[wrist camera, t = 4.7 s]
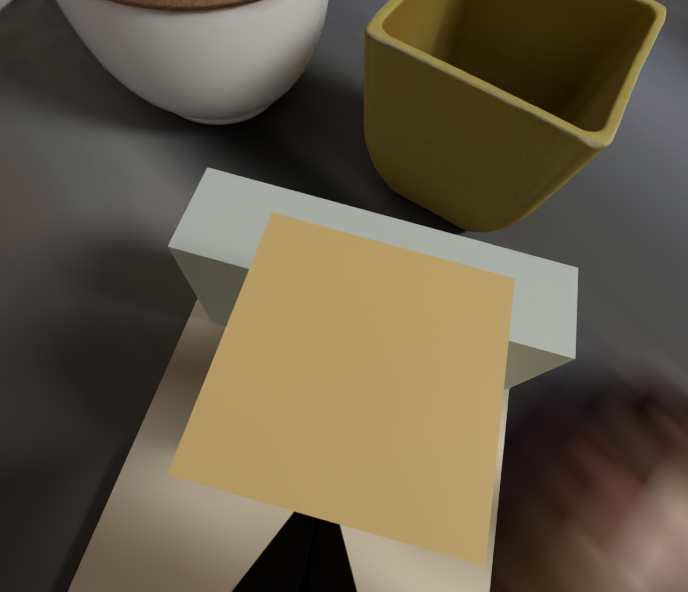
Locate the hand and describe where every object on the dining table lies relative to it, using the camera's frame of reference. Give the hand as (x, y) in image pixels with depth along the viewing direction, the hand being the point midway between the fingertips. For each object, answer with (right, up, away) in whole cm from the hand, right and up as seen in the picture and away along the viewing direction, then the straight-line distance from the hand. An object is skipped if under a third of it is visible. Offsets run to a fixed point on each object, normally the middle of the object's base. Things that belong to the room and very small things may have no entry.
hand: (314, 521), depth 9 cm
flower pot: (+6, +11, +14) cm, 19 cm away
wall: (+1, +4, +9) cm, 10 cm away
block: (0, +1, +8) cm, 8 cm away
